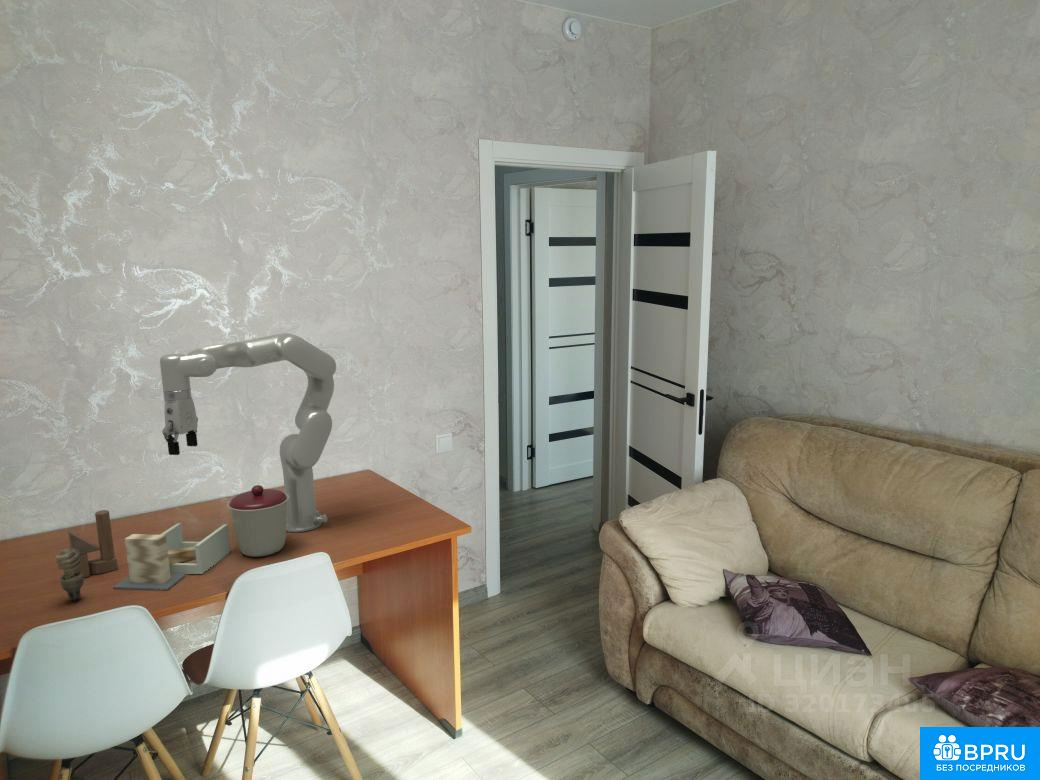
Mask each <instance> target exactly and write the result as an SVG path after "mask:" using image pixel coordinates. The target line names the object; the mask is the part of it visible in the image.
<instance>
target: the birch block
mask: <svg viewBox="0 0 1040 780" xmlns="http://www.w3.org/2000/svg"><path fill="white" fill-rule="evenodd" d="M124 545H125V553H126V560H127V567H128V576H129V577H130V582H131V583H159V584H164V583H165V582H166V581H168V580H169V579H170V578H171V576H170V567H169V559H168V550H167V542H166V535H160V534H149V533H147V534H145V533H144V534H142V533H131V534H130V535H129V536H127V537H125V538H124Z"/></svg>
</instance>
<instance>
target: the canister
mask: <svg viewBox="0 0 1040 780" xmlns="http://www.w3.org/2000/svg"><path fill="white" fill-rule="evenodd" d="M288 500H289V495H288V494H286V493H285V491H281V490H279V489H274V488H273V489H271V488H264V487H263V486H262V485H259V484H257V485H253V486H252V487H251V490H248V491H245V492H241V493H239V494H237V495H235V496H234V497H233V498H231V499H230V500H228V501H227V503H226V507H227V508H228V509H229V511H230V516H231V520H232V525H233V531H234V534H235V538H236V541H237V546H238V548H239V551H240V552H241V553H242V554H243V555H245V556H246V557H251V558H252V557H253V558H255V557H256V558H258V557H259V558H260V557H266V556H270V555H274V554H276V553H277V552H280V550H282V549H283V548H284V547H285V546H284V545H285V544H286V539H287V531H286V525H287V501H288Z"/></svg>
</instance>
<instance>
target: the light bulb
mask: <svg viewBox="0 0 1040 780" xmlns="http://www.w3.org/2000/svg"><path fill="white" fill-rule="evenodd" d="M79 555H80V551H79V550H78V549H75V548H70V547H67V548H66V547H65V548H61V549H60V554H57V555H56V556H55V560H56V564H57V569H58V570H63V575H62V576H61V577H60V578H59V580H60V585H61V588H62V590H64V591H65V592H66V593H67V597H68V599H69V601H73V602H77V601H79V600H80V598H81V596H82V594H81V588H82V587H83V585H84V581H85V580H84V578H83V574H82V573H81V572H77V568H78V567H79V566H80V564H81V562H80V556H79Z"/></svg>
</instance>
